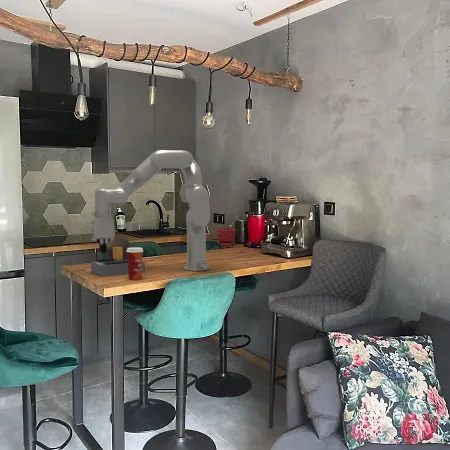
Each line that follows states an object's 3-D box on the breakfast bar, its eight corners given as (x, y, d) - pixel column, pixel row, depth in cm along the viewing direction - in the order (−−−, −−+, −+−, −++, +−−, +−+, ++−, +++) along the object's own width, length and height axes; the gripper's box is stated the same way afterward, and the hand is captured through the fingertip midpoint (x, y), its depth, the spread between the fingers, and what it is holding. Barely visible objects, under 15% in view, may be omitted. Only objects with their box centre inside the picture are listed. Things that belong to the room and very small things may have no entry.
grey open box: (144, 271, 226) (144, 258, 226) (101, 276, 214) (101, 263, 213) (132, 267, 238) (132, 255, 237) (91, 272, 225) (90, 259, 224)
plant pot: (229, 246, 320) (229, 229, 319) (213, 245, 327) (213, 228, 326) (239, 244, 331) (239, 228, 330) (223, 243, 338) (223, 227, 337)
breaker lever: (122, 263, 224) (122, 247, 223) (117, 264, 222) (116, 248, 222) (118, 262, 228) (118, 246, 227) (113, 263, 226) (112, 246, 226)
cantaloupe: (103, 263, 249) (103, 236, 248) (130, 262, 254) (129, 235, 253) (106, 268, 236) (106, 239, 234) (134, 266, 241) (134, 238, 239)
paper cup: (139, 280, 205) (138, 249, 203) (123, 279, 207) (123, 249, 205) (146, 277, 212) (146, 247, 211) (131, 276, 214) (131, 246, 213)
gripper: (90, 215, 212) (90, 254, 213) (120, 214, 220) (120, 252, 222) (84, 214, 218) (85, 252, 219) (114, 213, 226) (114, 250, 228)
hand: (103, 252), depth 221 cm, fingers closed
